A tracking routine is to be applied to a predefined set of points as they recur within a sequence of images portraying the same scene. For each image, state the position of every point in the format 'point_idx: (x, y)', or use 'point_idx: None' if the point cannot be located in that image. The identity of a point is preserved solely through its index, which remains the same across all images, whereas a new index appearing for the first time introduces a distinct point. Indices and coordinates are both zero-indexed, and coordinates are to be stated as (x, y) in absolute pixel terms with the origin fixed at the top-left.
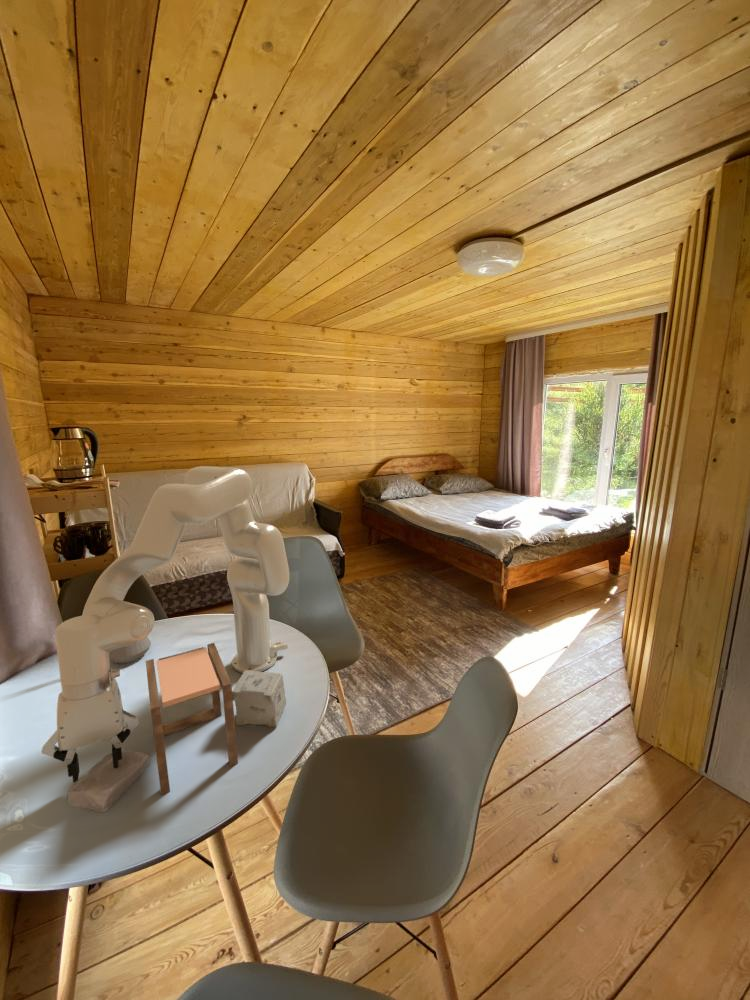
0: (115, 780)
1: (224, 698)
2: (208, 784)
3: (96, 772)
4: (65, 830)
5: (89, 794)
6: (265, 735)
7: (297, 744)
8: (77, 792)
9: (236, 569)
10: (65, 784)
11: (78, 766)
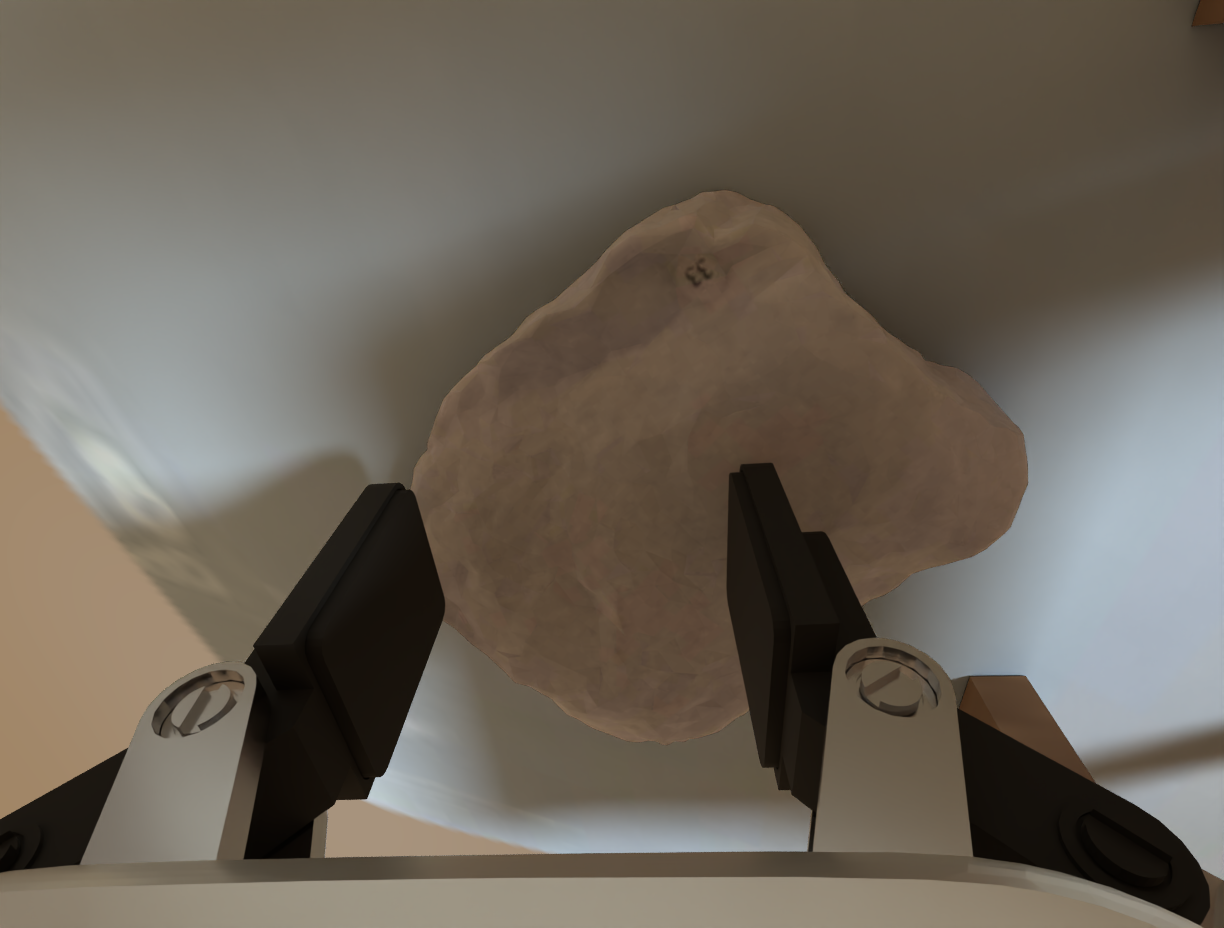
0: (735, 681)
1: None
2: (1215, 753)
3: (567, 456)
4: (473, 690)
5: (566, 713)
6: None
7: None
8: (473, 644)
9: None
10: (319, 337)
11: (396, 554)
